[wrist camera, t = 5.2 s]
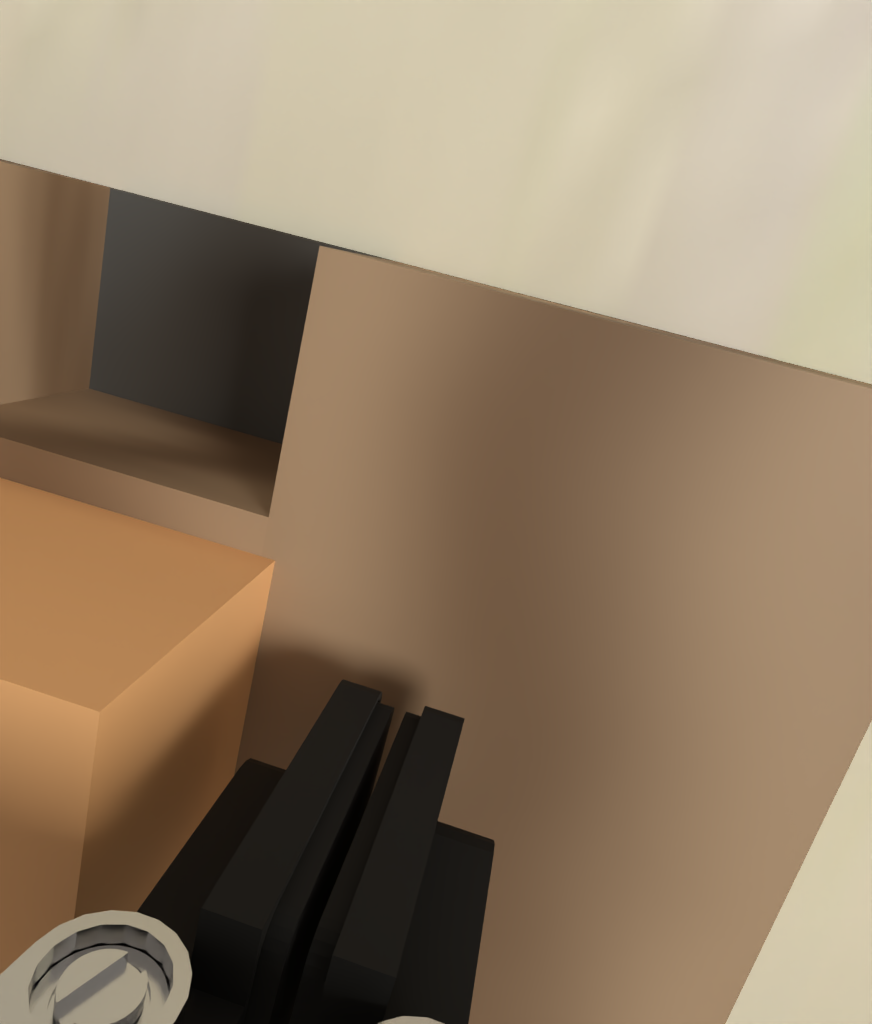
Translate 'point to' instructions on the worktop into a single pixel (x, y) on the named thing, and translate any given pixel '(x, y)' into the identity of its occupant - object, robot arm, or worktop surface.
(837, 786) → the board
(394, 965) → the robot arm
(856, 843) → the worktop surface
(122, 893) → the orange block
